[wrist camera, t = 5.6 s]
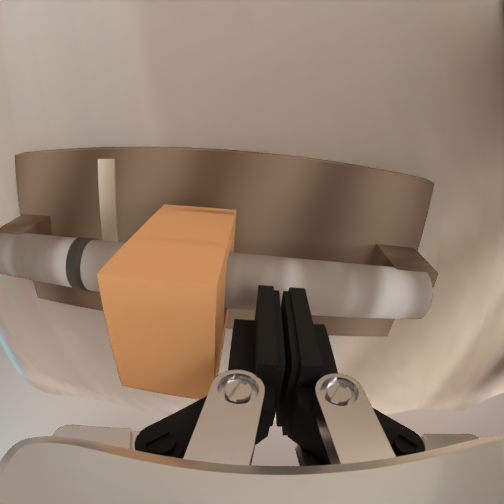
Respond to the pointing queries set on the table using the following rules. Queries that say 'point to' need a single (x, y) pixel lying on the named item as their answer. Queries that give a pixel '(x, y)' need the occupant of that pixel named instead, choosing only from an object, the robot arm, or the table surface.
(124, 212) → the rail base
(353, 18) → the table surface
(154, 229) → the collar
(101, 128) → the table surface
